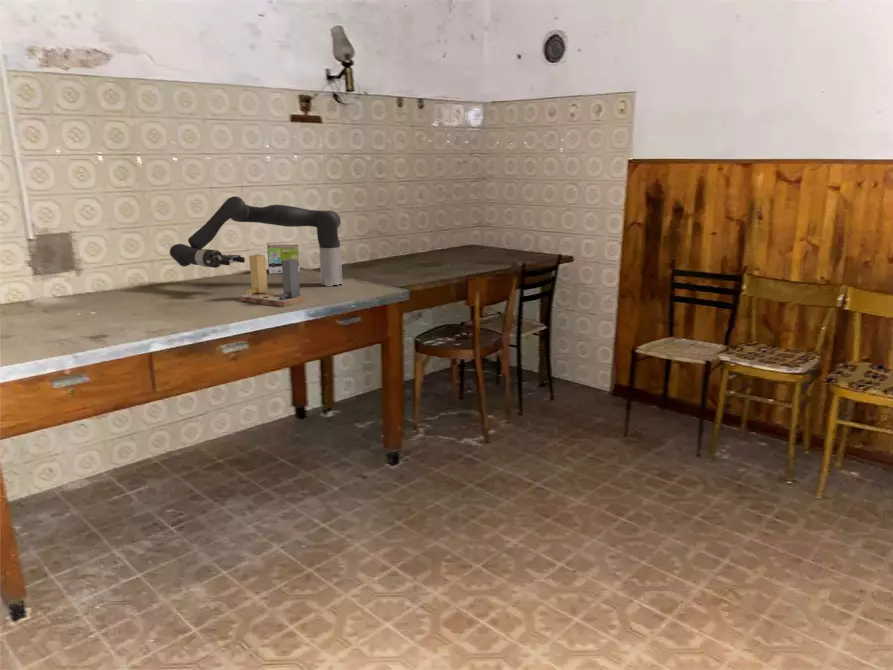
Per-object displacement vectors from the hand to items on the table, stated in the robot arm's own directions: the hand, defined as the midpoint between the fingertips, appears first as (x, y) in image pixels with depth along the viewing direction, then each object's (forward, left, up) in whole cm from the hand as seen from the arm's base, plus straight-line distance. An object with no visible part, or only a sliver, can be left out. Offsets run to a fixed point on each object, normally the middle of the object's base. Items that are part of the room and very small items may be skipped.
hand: (236, 261), depth 283 cm
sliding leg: (-7, +10, -12) cm, 17 cm away
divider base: (-13, +16, -14) cm, 25 cm away
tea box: (-23, -54, -15) cm, 60 cm away
